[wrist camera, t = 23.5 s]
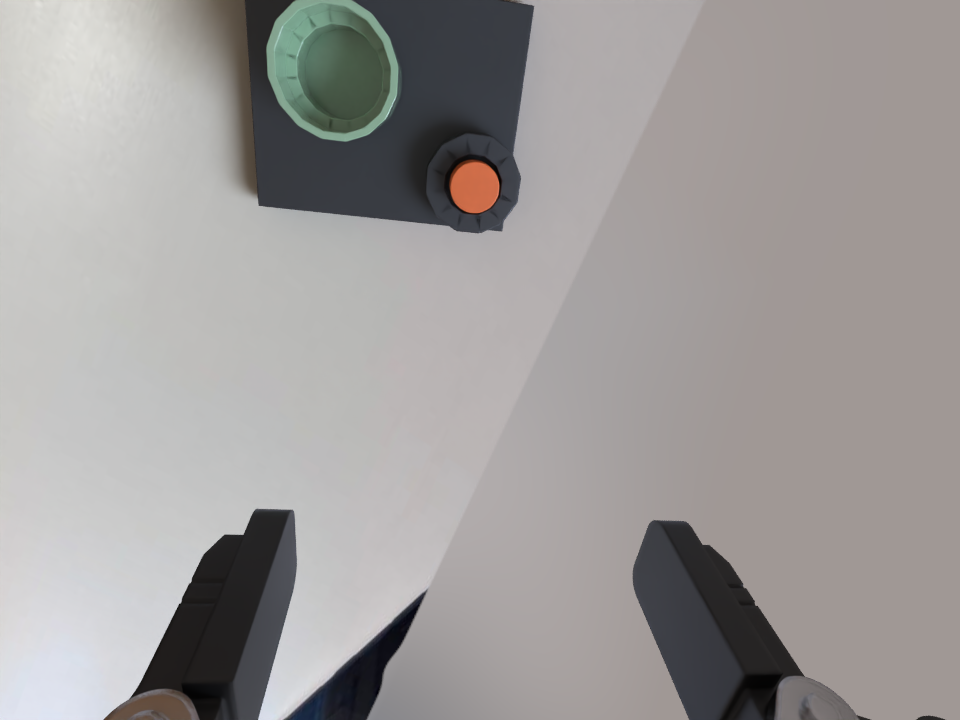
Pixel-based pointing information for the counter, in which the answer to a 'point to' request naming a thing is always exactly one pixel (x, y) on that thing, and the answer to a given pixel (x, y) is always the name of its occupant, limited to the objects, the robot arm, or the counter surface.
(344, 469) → the counter surface
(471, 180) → the button
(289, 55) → the bowl
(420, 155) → the scale
